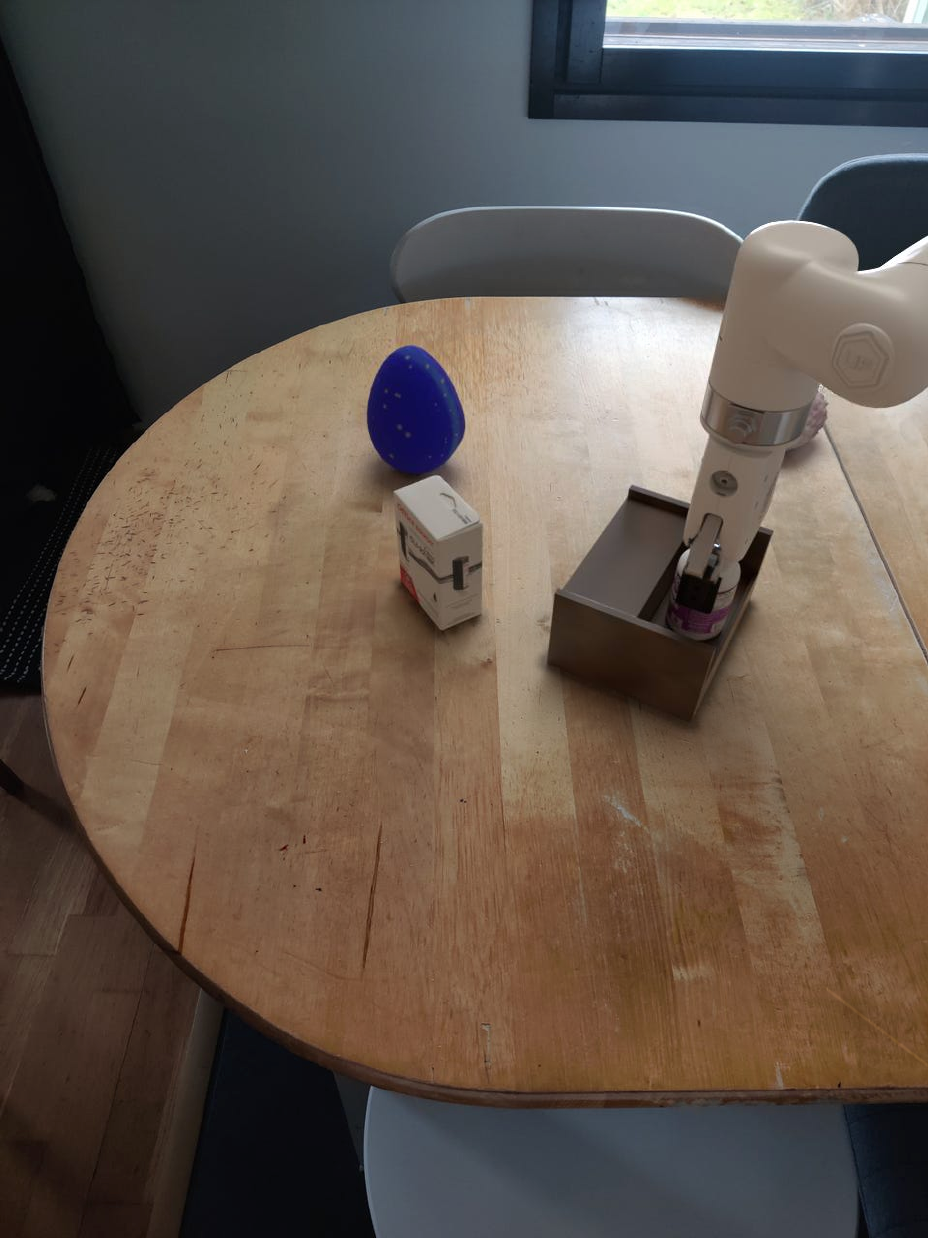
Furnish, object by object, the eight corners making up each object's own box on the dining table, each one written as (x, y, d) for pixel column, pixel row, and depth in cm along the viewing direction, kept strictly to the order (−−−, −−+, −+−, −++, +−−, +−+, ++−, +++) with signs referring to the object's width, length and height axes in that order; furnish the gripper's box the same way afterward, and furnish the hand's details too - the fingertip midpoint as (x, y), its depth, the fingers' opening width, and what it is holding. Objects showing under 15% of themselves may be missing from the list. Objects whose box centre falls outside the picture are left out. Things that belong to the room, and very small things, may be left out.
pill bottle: (659, 602, 81) (677, 523, 74) (714, 600, 81) (737, 520, 74) (672, 644, 77) (693, 565, 70) (730, 641, 77) (756, 562, 70)
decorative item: (853, 406, 101) (816, 352, 95) (800, 484, 101) (760, 435, 95) (792, 397, 108) (755, 346, 103) (743, 469, 108) (703, 423, 103)
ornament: (475, 461, 101) (477, 344, 91) (430, 501, 96) (426, 382, 85) (401, 431, 106) (394, 316, 95) (353, 468, 100) (341, 350, 90)
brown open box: (750, 599, 85) (773, 530, 79) (691, 722, 75) (713, 654, 68) (619, 553, 90) (631, 484, 84) (546, 662, 80) (554, 593, 73)
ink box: (398, 580, 87) (391, 487, 79) (440, 564, 89) (438, 470, 80) (440, 633, 82) (437, 539, 74) (483, 614, 84) (486, 520, 75)
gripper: (774, 483, 56) (715, 665, 69) (835, 367, 67) (773, 544, 80) (665, 450, 59) (628, 631, 72) (740, 343, 69) (696, 518, 82)
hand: (705, 583), depth 76 cm, fingers closed on pill bottle, 5 cm apart
